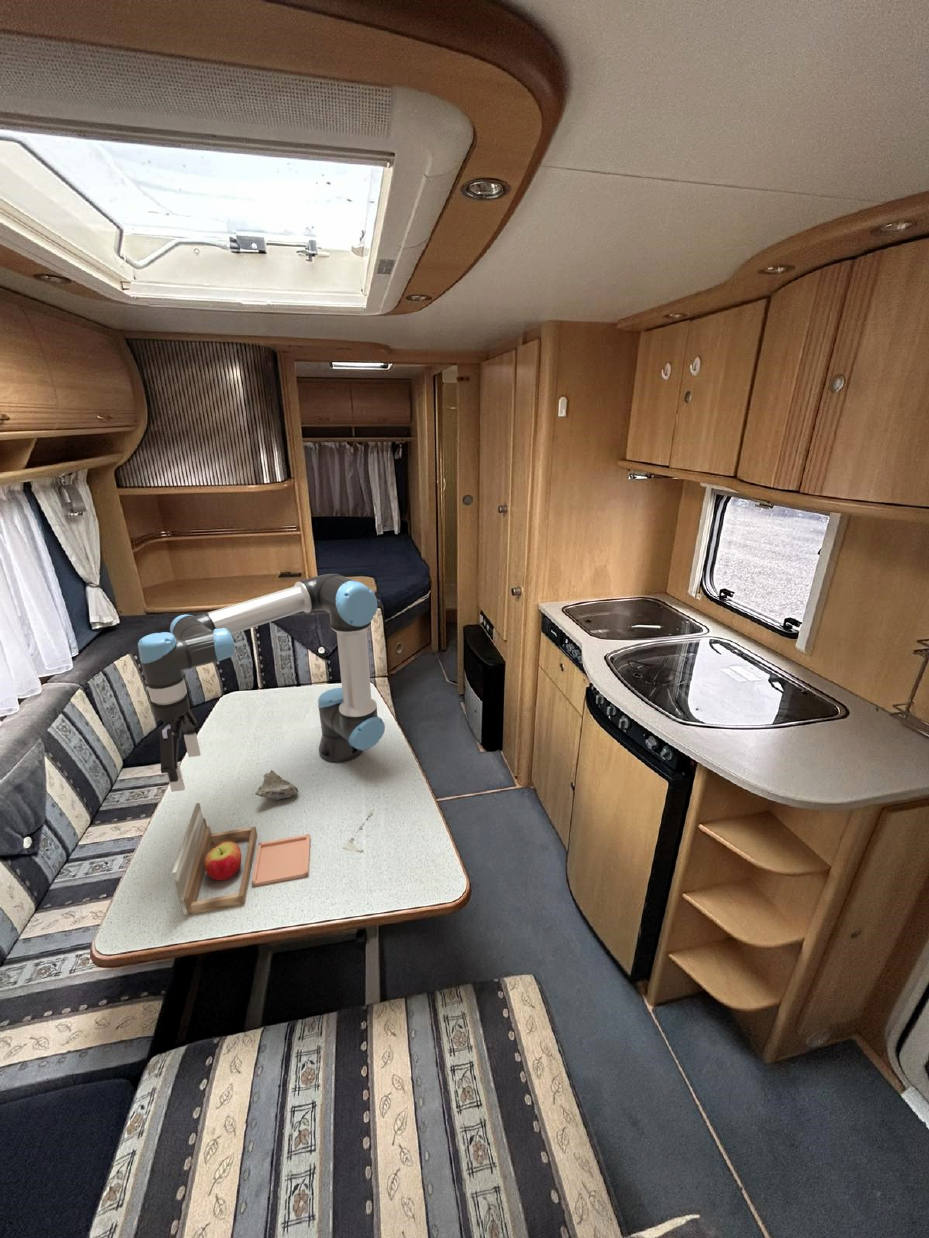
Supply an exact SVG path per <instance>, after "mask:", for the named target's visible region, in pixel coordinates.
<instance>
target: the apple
mask: <svg viewBox="0 0 929 1238" xmlns="http://www.w3.org/2000/svg"><path fill="white" fill-rule="evenodd" d="M241 865H242V851H241V848H240V846H239V845H238V843H237V842H230V841H226V842H222V843H220V844H218V845H215V846H213V847H212V850H210V851H209V852H208V853H207V855H206V857H205V860H204V867H205V870H206V871H205V873H206V874H207V875H208V876H209V878H211V879H213V880H216V881H226V880H229V879H230V878H233V876H234V875H235V874H237V873H238V871H239V869H240V867H241Z"/></svg>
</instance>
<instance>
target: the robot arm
mask: <svg viewBox="0 0 929 1238" xmlns="http://www.w3.org/2000/svg"><path fill="white" fill-rule="evenodd" d="M314 611H324V612H327V613H329V621H330V623H329V624H330V629H331V630H333V631H334V632H335V633H336V640H337V651H338V660H339V671H340V681H341V687H336V688H331V689H328V690H326V691H324V692H322V693H321V694H320V695H319V696H318V703H317V707H318V713H319V720H320V726H321V728H320V729H321V738H320V742H319V745H318V755H319V757H320V758H321V759H322V760H323V761H325V762H327V763H329V764H343V763H347V762H350V761H351V762H352V761H353V760H356V759H357V758H358V757H360V756H361V755H362V754H363V752H364V751H367V750H369V749H371V748H373V747H374V746H376V745H377V744H378V743H379V741H380V740H381V739H382V737H383V736H384V734H385V730H386V725H385V722H384V720H383V719H382V718H381V717H380V716H378V705H377V702H376V700H375V699H373V698H372V689H371V687H372V686H371V677H370V675H371V674H370V664H369V659H370V658H369V648H368V646H369V645H368V634H367V630H368V629H369V628H370V627H371V625H372V620H373V619H374V616H375V615H376V614H377V611H378V599H377V596H376V595H375V593H374V591H373V590H372V589H371V588H370V587H368V586H367V585H365V584H364V583H363V582H361V581H357V580H354V579H351V578H348V577H346V576H344V575H341V574H338V573H326V574H321V575H317V576H313V577H309V578H306V579H302V580H299V581H296V582H295V584H294V586H292V587H288V588H285V589H282V590H278V591H275V592H272V593H268V594H265V595H262V596H258V597H255V598H252V599H249V600H245V601H241V602H239V603H235V604H233V605H229V606H225V607H221V608H219V609H216V610H212V611H209V612H205V613H202V614H197V615H195V616H194V615H192V614H182V615H179V616H177V617H175V618H174V619H173V620H172V622H171V623H170V626H169V631H170V632H168V631H167V632H165V631H163V632H162V631H161V632H154V633H150V634H148V635H145V636H143V637H141V638H140V639H139V640H138V643H137V649H138V654H139V660H140V661H139V662H140V665H141V669H142V671H143V675H144V676H143V677H144V678H145V682H146V688H145V690H146V691H148V695H149V698H150V701H151V707H152V711H153V715H154V717H155V718H156V719H159V720H161V721H163V724H162V728H163V729H158V736H159V737H158V739H159V750H160V754H159V755H160V773H161V774H167V778H168V779H167V780H168V782H169V783H168V784H169V786H170V790H171V792H173V793H174V792H180V791H185V790H186V786H185V783H184V779H183V773H182V769H181V765H178V764H179V763H178V762H179V745H180V740H181V739H182V732H183V733H185V734H184V735H183V737H184V742H185V747H186V752H187V756H188V758H191V757H200V756H201V754H202V753H201V750H200V749H201V748H200V745H199V740H198V737H197V736H198V735H197V733H199V732H200V727H198V726H199V725H198V724H199V723H198V720H197V719H196V717H195V715H194V713H193V710H191V705H190V703H191V702H190V700H189V699H190V698H189V695H188V693H187V692H188V689H187V685H186V680H185V677H184V671H187V670H191V669H194V668H197V667H200V666H204V665H205V666H206V665H209V664H213V663H217V662H221V661H222V660H225V659H229V658H231V657H233V656H234V654H235V651H236V650H235V649H236V648H235V647H236V646H235V643H234V639H233V635H234V634H238V633H240V632H243V631H247V630H249V629H252V628H255V627H258V626H261V625H264V624H268V623H270V622H273V621H277V620H280V619H283V618H285V617H288V616H292V615H295V614H297V613H301V612H304V613H305V614H309V613H311V612H314Z"/></svg>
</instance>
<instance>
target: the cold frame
mask: <svg viewBox="0 0 929 1238" xmlns="http://www.w3.org/2000/svg"><path fill="white" fill-rule="evenodd" d="M203 815H204V814H203V811H202V807H201V803H200V802H196V803H195V806H194V809H193V811H192V815H191V818H190V820H189V822H188V826H187V828H186V832H185V834H184V837H183V840H182V843H181V846H180V849H179V850H178V851H179V852H178V855H177V858H176V860H175V863H174V866H173V868H172V871H171V874H172V878H173V881H174V886H175V887H176V892H177V895H178V898H179V902H180V904H181V908H182V912H183V916H188V915H189V916H190V915H194V914H201V913H204V912H210V911H215V910H219V909H224V908H225V909H226V908H229V907H235V906H240V905H241V906H242V905H245V903H246V900H247V894H248V888H249V882H250V877H251V871H252V868H253V861H254V857H255V850H256V845H257V840H258V832H257V831H258V830H257V826H255V825H254V826H250V827H244V828H239V829H232V830H226V831H220V832H215V833H212V831H211V827H210V826H207V821H206V818H204V816H203ZM226 841H230V842H234V843H238V842H244V841H248V845H247V849H246V854H245V860H244V864H243V871H242V876H241V881H240V885H239V891H238V892H236V893H232V894H227V895H222V896H221V895H220V896H216V897H211V898H207V899H201V900H198V897H199V894H200V890H201V887H202V884H203V881H204V878H205V877H204V876H205V873H206V870H205V867H204V860H205V857H206V855H207V853H208V852H209V851H210V850H212V849H213V847H214V846H213V845H215V846H217V845H218V844H220V843H222V842H226ZM212 846H213V847H212Z"/></svg>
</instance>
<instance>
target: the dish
mask: <svg viewBox="0 0 929 1238" xmlns="http://www.w3.org/2000/svg"><path fill="white" fill-rule="evenodd" d="M256 848H257V849H256V855H255V860H254V868H253V874H252V877H251V878H252V879H251V888H254V887H259V886H265V885H266V886H267V885H270V884H277V883H281V882H282V883H283V882H287V881H291V880H292V881H293V880H299V879H302V878H303V879H304V878H308V877H309V875H310V874H309V873H310V869H309V868H310V854H311V853H310V852H311V851H310V850H311V835H310V833H308V834H307V833H306V834H301V835H296V836H290V837H286V838H279V839H273V840H269V841H264V842H258V844H257V847H256Z"/></svg>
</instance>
